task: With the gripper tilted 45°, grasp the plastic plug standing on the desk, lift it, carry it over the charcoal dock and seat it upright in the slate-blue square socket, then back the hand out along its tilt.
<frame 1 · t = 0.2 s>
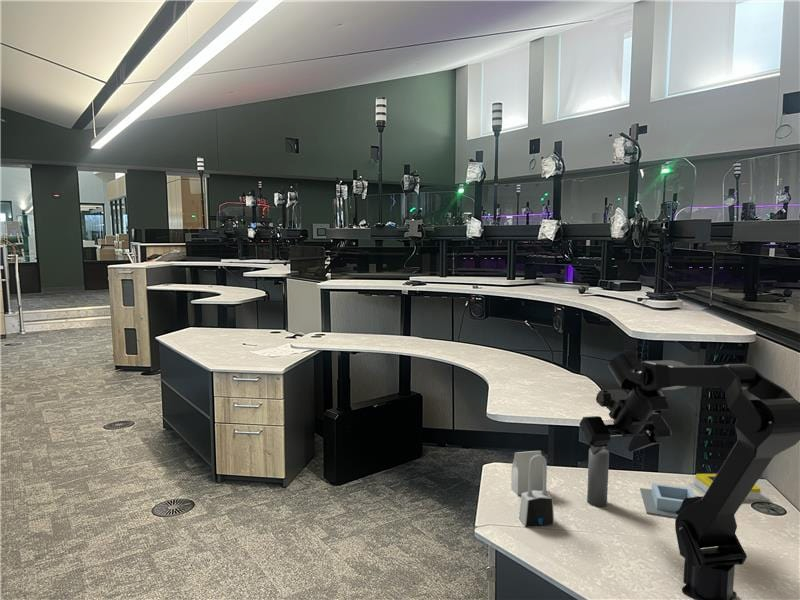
hand: (611, 451, 117), 14 cm above the table, tool tilted 35°, fingers open, 9 cm apart
dock: (673, 505, 121), on the table
grey chamfered block: (527, 492, 128), on the table
padlock: (536, 522, 113), on the table
emergency button: (727, 494, 128), on the table
plug: (596, 502, 122), on the table
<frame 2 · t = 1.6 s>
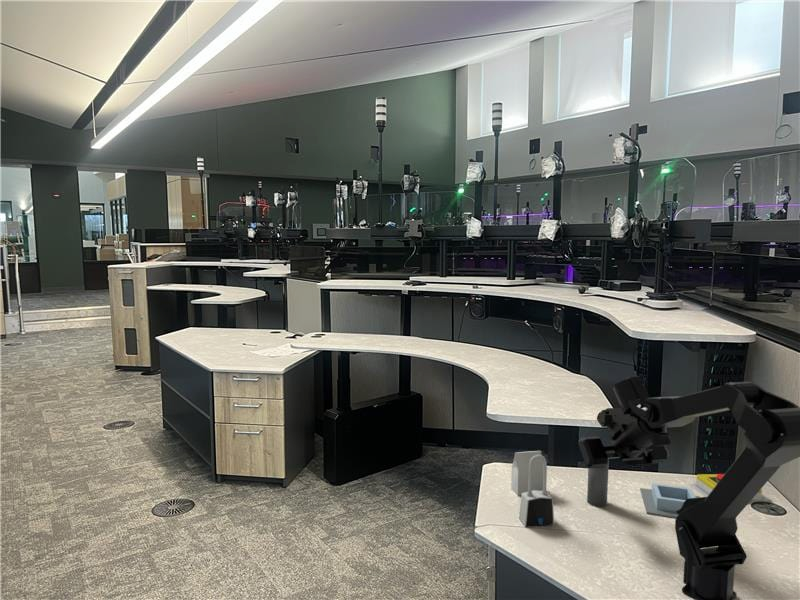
hand: (606, 465, 118), 10 cm above the table, tool tilted 45°, fingers open, 9 cm apart
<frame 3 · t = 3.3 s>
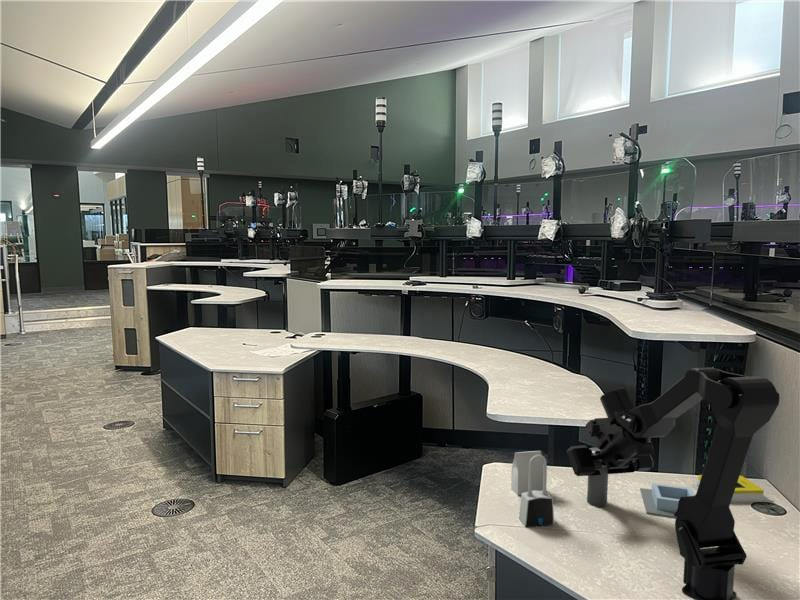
hand: (594, 473, 123), 7 cm above the table, tool tilted 45°, fingers closed on plug, 4 cm apart
plug: (596, 502, 122), on the table, touching gripper
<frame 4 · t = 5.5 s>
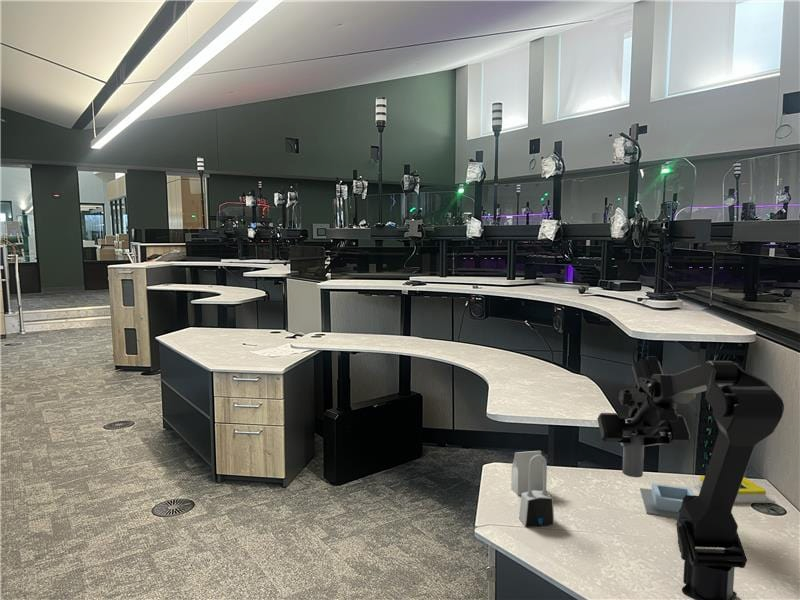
hand: (631, 444, 123), 13 cm above the table, tool tilted 45°, fingers closed on plug, 4 cm apart
plug: (632, 473, 122), point 7 cm above the table, touching gripper
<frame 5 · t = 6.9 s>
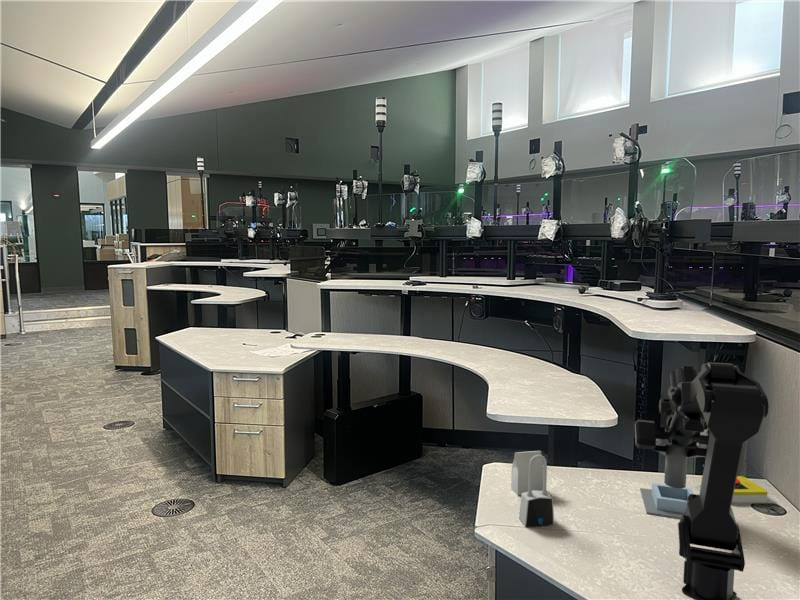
hand: (675, 454, 121), 12 cm above the table, tool tilted 45°, fingers closed on plug, 4 cm apart
plug: (674, 484, 120), point 5 cm above the table, touching gripper
when the fingers open (8 cm above the table, at t = 8.0 s): plug stays where it is, resting on dock.
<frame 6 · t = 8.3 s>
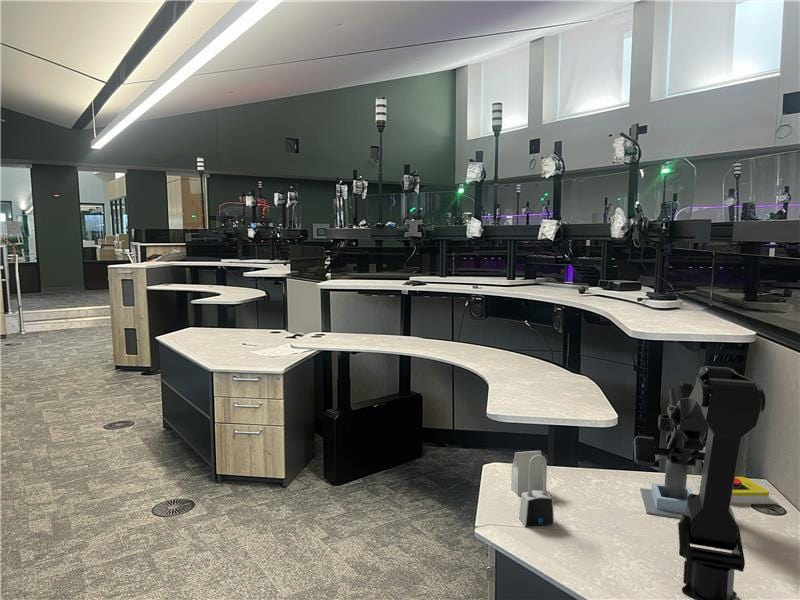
hand: (674, 470, 121), 8 cm above the table, tool tilted 45°, fingers open, 7 cm apart
plug: (674, 503, 121), resting on dock
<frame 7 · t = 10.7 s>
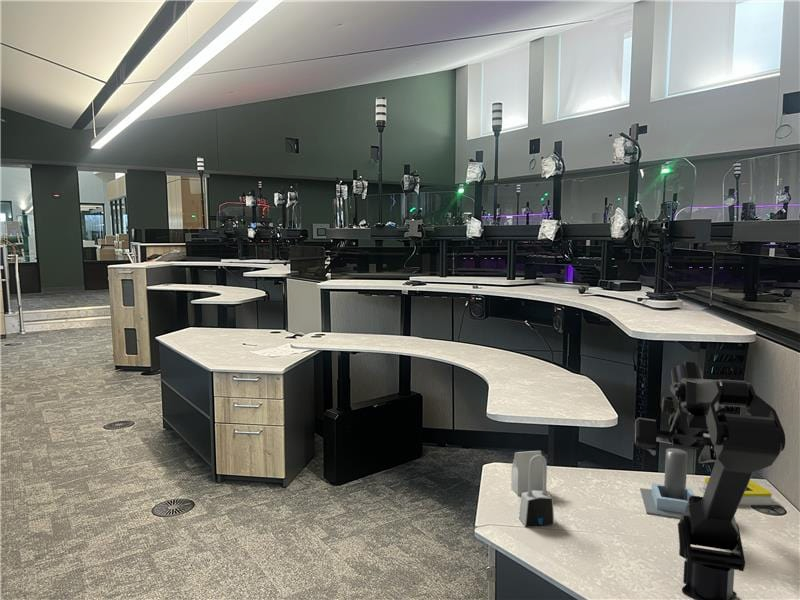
hand: (676, 457, 115), 13 cm above the table, tool tilted 40°, fingers open, 9 cm apart
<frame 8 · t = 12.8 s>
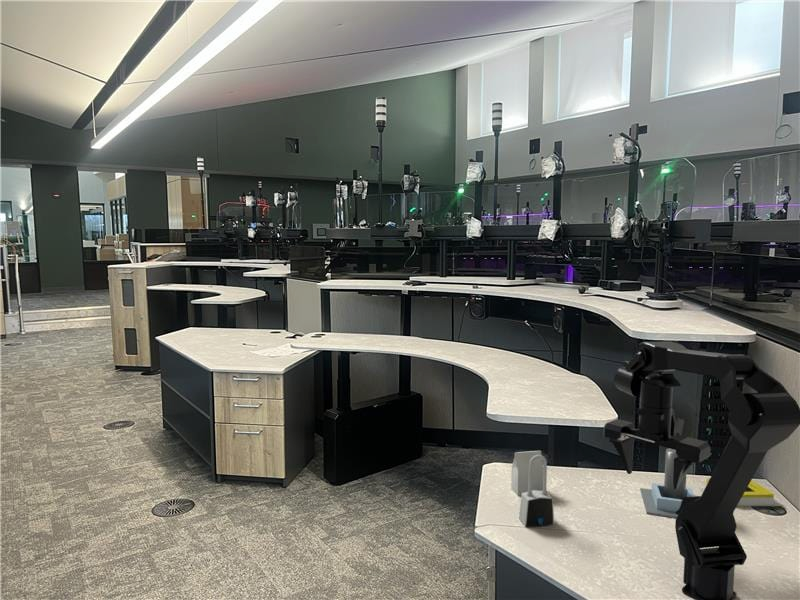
hand: (652, 481, 103), 13 cm above the table, tool pointing down, fingers open, 9 cm apart
at the end: plug 0.0 cm off-centre on the dock, point 0.4 cm above the dock's base; plug tilted 0°; the gripper is holding nothing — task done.
